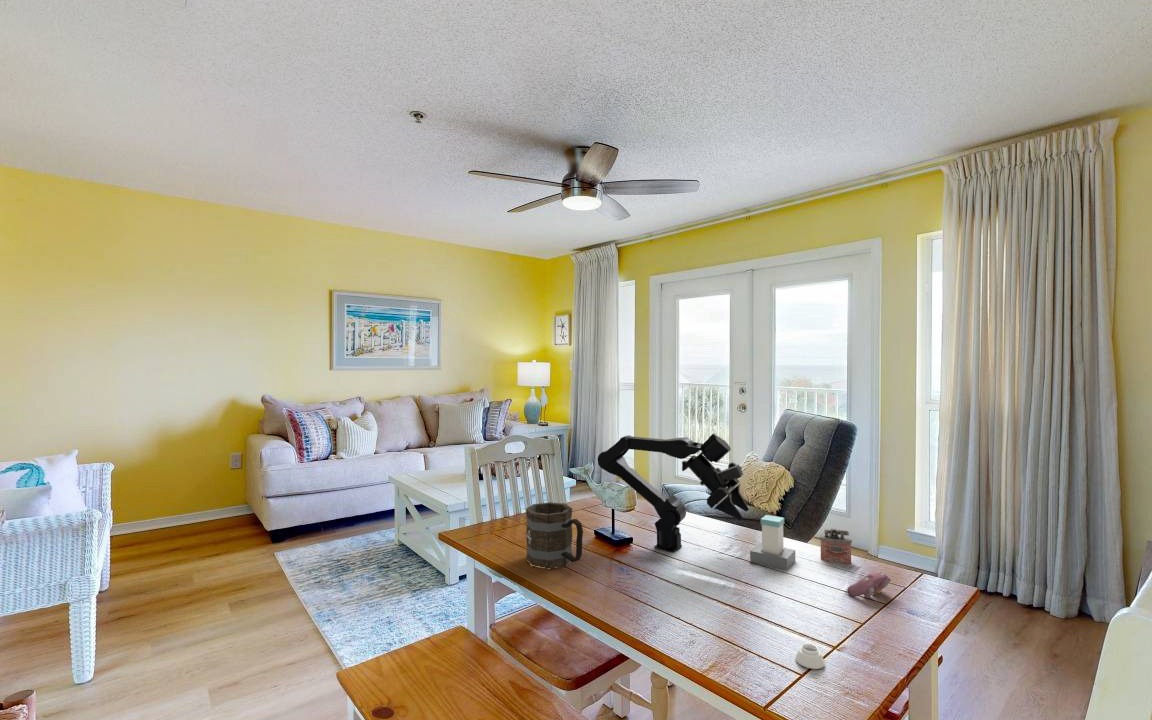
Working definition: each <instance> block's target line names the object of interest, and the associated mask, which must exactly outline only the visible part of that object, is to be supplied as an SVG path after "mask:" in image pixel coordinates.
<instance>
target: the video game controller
mask: <svg viewBox="0 0 1152 720" xmlns="http://www.w3.org/2000/svg"><path fill="white" fill-rule="evenodd" d="M890 582H891V578H890V577H889V576H887V575H886V573H883V572H882V571H879V572H875V571H874V572H870V573H868V574H867V575H866V576H864V577H862V578H861V579H860V580H858V581H857V582H855V583H853V584H851V585H849V586H848V587H847V589H846V591H847V592H846V593H847V594H848V595H849V596H851V597H860V596H864V597H865V598H870V597H871V596H872V595H875V596H876V595H878V594H880V593H881V591H883V590H884V589H885V588H886V587H887V586H889V584H890Z"/></svg>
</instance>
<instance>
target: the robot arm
mask: <svg viewBox="0 0 1152 720" xmlns="http://www.w3.org/2000/svg"><path fill="white" fill-rule="evenodd" d="M629 450H633V451H645V452H653V453H654V452H655V453H662V454H665V455H667V456H668V457H673V458H676V459H678V460H679V459H680V460H682V461H681V472H684V471H686V470H688V469H689V470H690V471H691V472H692V474H694V475H695V476H696V477H697V479H699V481H700V482H699V484H700V485H701V486H705V487H706V488H707V489H708V491H709V492H710V493H709V496H708V497H707V498H706V504H707V506H709V508H710V509H714V510H717V511H720V512H722V513H724V514H727V515H729V516H730V517H732V518H735V519H737V520H739V521H741V520H742V519H743V518H744V517H743V515H742V513H741V512H740V511H739V509H741V510H743V511H744V512H748V511H749V507H748V505H747V503H746V501H745V499H744V497H743V496H742V494H741V492H740V490H741V489H740V487H741V484H740V483H741V482H740V478H742V476H743V475H744V473H743V470H742V467H741V466H740V464H739V463H738V464H737V463H735V462H734V461H733V462H730V463H728V465H727V468H725V469H723V470H721V468H719V467H715V466H714V465H713V464H712V463H713V462H714V463H718V462H720V461H721V459H723V458H724V457H725V456H726V455H727V454H728V453H729V452H730V451H731V450H732V448H731V446H730V445H729V444H728V443H727V441H726V440H725V439H723V438H722V437H720V436H718V435H717V434H716V433H714V432H713V433H712V434H711V435H710V436H709V437H708V438H707V440H706V441H705V442H704V443H701V442H695V441H693V439H691V438H690V437H687V436H685V437H675V438H674V437H673V438H667V439H665V438H664V439H662V438H654V437H653V438H652V437H642V436H641V437H640V436H631V435H624V436H621V437H620V438H619V440H618V441H616V443H615V444H613V445H612V446H610V448H608V449H607V450H604V451H602V452H600V453H599V454H598V456H597V464H598V465H597V466H598V467H600V469H602V470H604V471H605V472H606V473H609V474H611V475H613V476H617V477H618V478H620V479H621V480H622V481H623V482H624V483H626V484H627V486H629V487H630V488H632V490H634V491H636V493H638V494H639V495H640V497H642V498H643V499H644V500H646V501H647V502H648V503H649V504H650V505H651V506H652V507H653V509H654V510H655V511H656V513H657V516H658V517H659V519H657V521H655V523H654V526H655V529H656V545H654V548H655V549H657V550H662V551H666V552H670V553H674V552H676V551H677V550H679V549H680V548H682V547H683V544H682V534H681V533H680V527H678V526H679V525H680V524H681V522H682V521H683V520H684V519H685V517H686V515H687V511H686V509H687V508H686V507H685V506H684V505H683V503H684V502H683V501H682V500H679V499H678V498H677V497H676V496H675V495H674V494H670V495H669V496H667V495H664V494H663V493H661V492H660V491H659V490H658V489H657V488H655V487H654V486H653V485H652V484H651V483H649V482H648V481H647V480H646V479H645V478H644V477H642V476H641V475H640V474H639V473H637V471H635V469H633V468H631V467H630V465H629V464H628V462H627V461H626V458H625V457H624V456H625V455H626V454H627V453H628V451H629ZM700 451H701V452H700ZM699 452H700V453H699ZM698 453H699V454H698ZM696 454H698V455H697V456H696ZM691 455H692V456H691ZM688 457H690V458H688ZM687 458H688V459H687ZM683 459H687V460H683ZM738 508H739V509H738Z"/></svg>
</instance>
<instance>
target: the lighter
mask: <svg viewBox="0 0 1152 720" xmlns="http://www.w3.org/2000/svg"><path fill="white" fill-rule="evenodd" d="M845 536H847V537H845ZM849 536H850V531H849V530H848V529H836V527H832V528H824V534H821V535H819V540H820V560H821V561H824V562H825V561H826V562H828V563H829V562H831V563H838V564H847V565H848V564H852V543H853V542H852V541H853V540H852V538H850V537H849Z"/></svg>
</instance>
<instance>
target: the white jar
mask: <svg viewBox="0 0 1152 720" xmlns="http://www.w3.org/2000/svg"><path fill="white" fill-rule="evenodd" d="M795 661H796V662H797V663H798V664H799V665H800V666H802V667H804V668H806V669H807V668H808V669H811V670H812V669H813V670H817V669H823V668H824V667H825V664H826V663H825V659H824V657H823V655H822V653H821V652H820V650H819V648H818V647H817V646H816V645H814V644H812V643H803V644H801V646H800V647H799V649H798V650H797V652H796V655H795Z"/></svg>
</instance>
